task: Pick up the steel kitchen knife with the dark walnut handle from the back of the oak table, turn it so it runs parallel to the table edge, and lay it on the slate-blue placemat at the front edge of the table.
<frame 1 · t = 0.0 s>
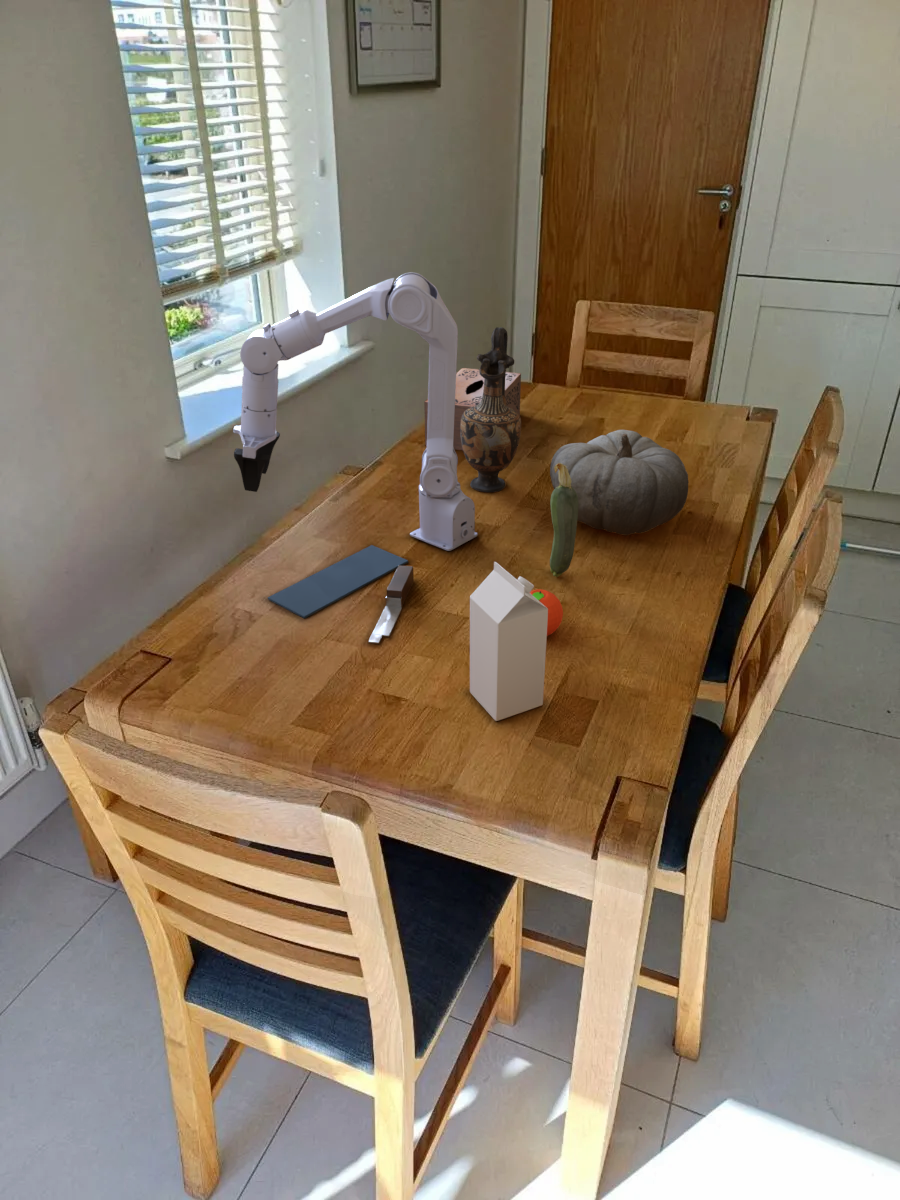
hand: (255, 481, 151), 11 cm above the table, tool pointing down, fingers open, 7 cm apart
gourd: (615, 518, 162), on the table
vase: (490, 485, 175), on the table
vegetable: (559, 579, 143), on the table
tissue box cover: (474, 430, 201), on the table
clementine: (536, 636, 129), on the table
mat: (340, 580, 143), on the table
milk carton: (505, 700, 116), on the table
knife: (399, 596, 138), on the table
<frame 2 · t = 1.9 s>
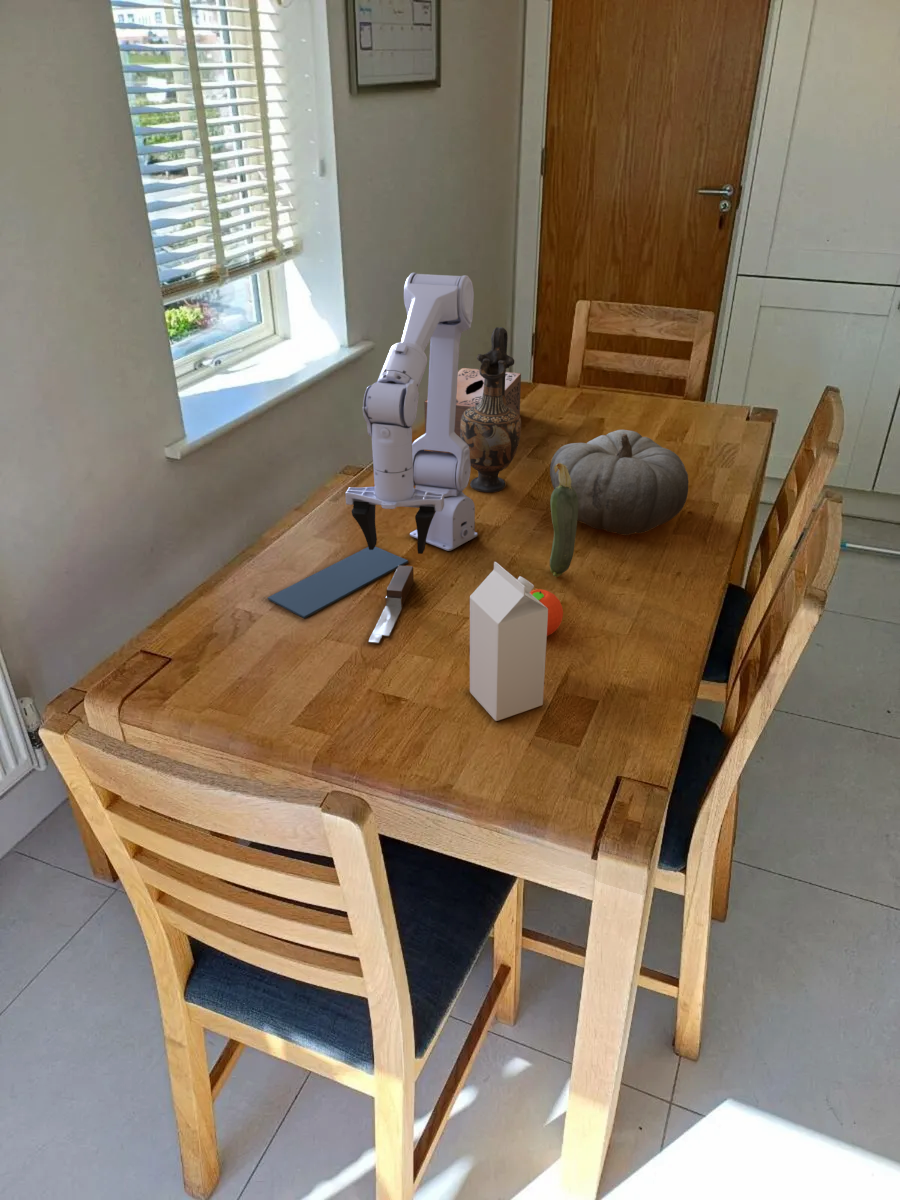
hand: (396, 548, 134), 8 cm above the table, tool pointing down, fingers open, 7 cm apart
nothing on the table moved.
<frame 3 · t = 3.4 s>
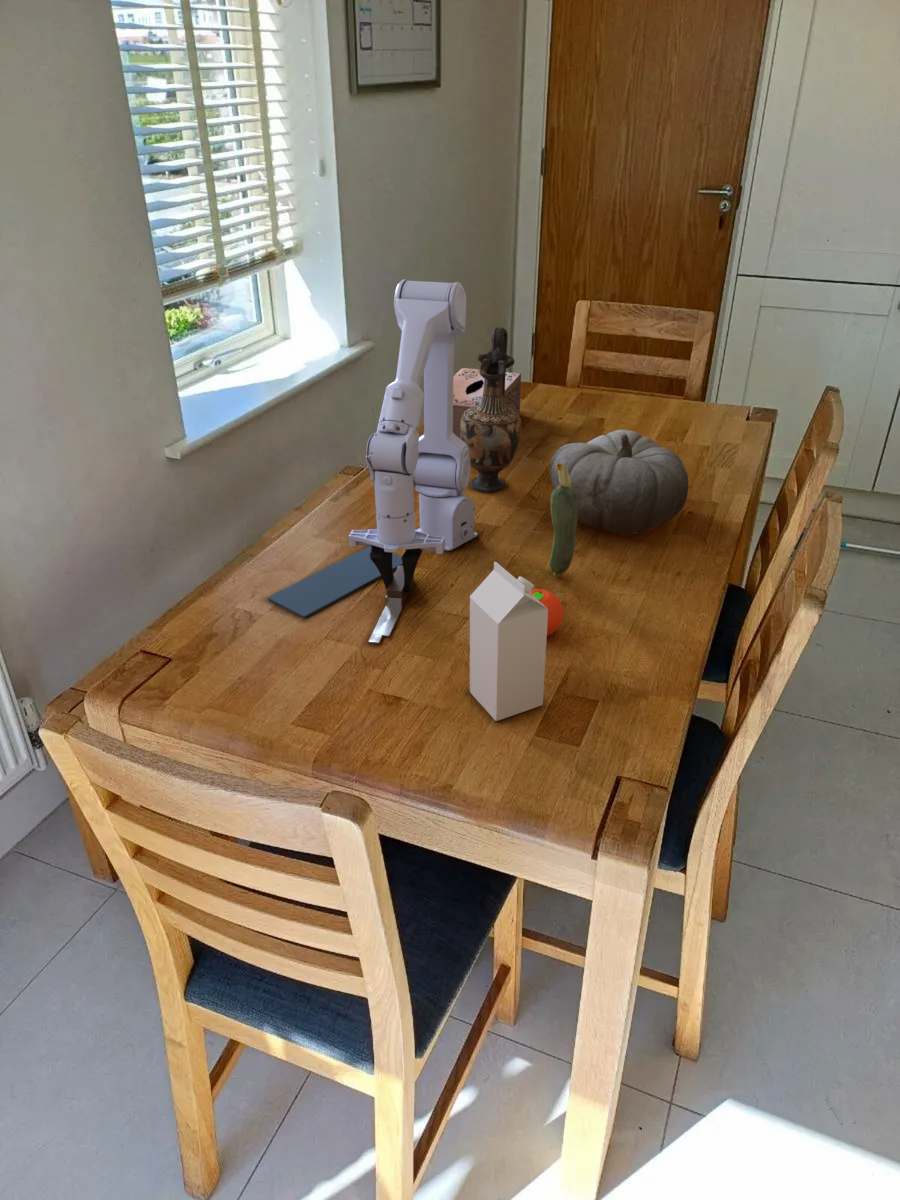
hand: (398, 588, 137), 1 cm above the table, tool pointing down, fingers closed on knife, 2 cm apart
knife: (399, 596, 138), on the table, touching gripper
everything else where it was.
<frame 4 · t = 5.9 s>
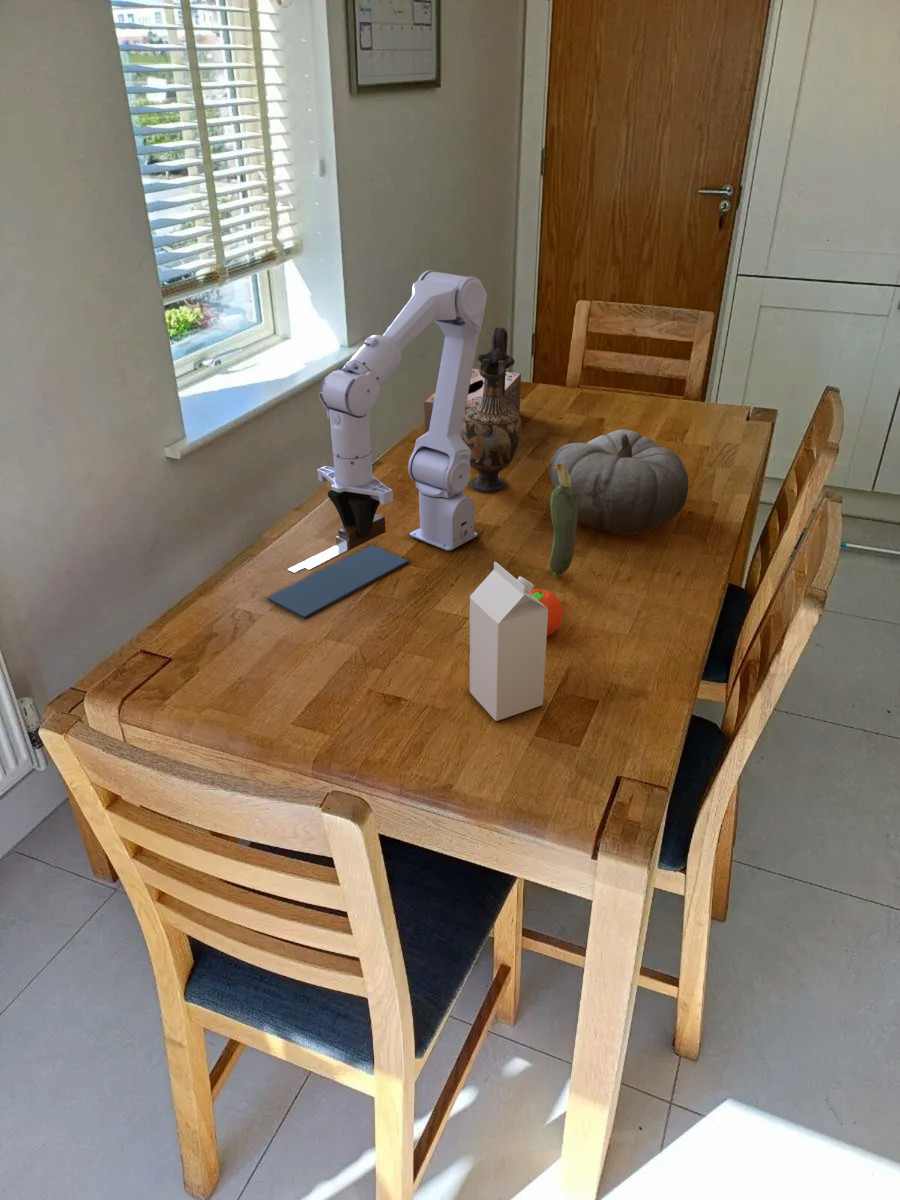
hand: (357, 532, 139), 8 cm above the table, tool pointing down, fingers closed on knife, 2 cm apart
knife: (358, 541, 139), point 7 cm above the table, touching gripper
everything else where it was.
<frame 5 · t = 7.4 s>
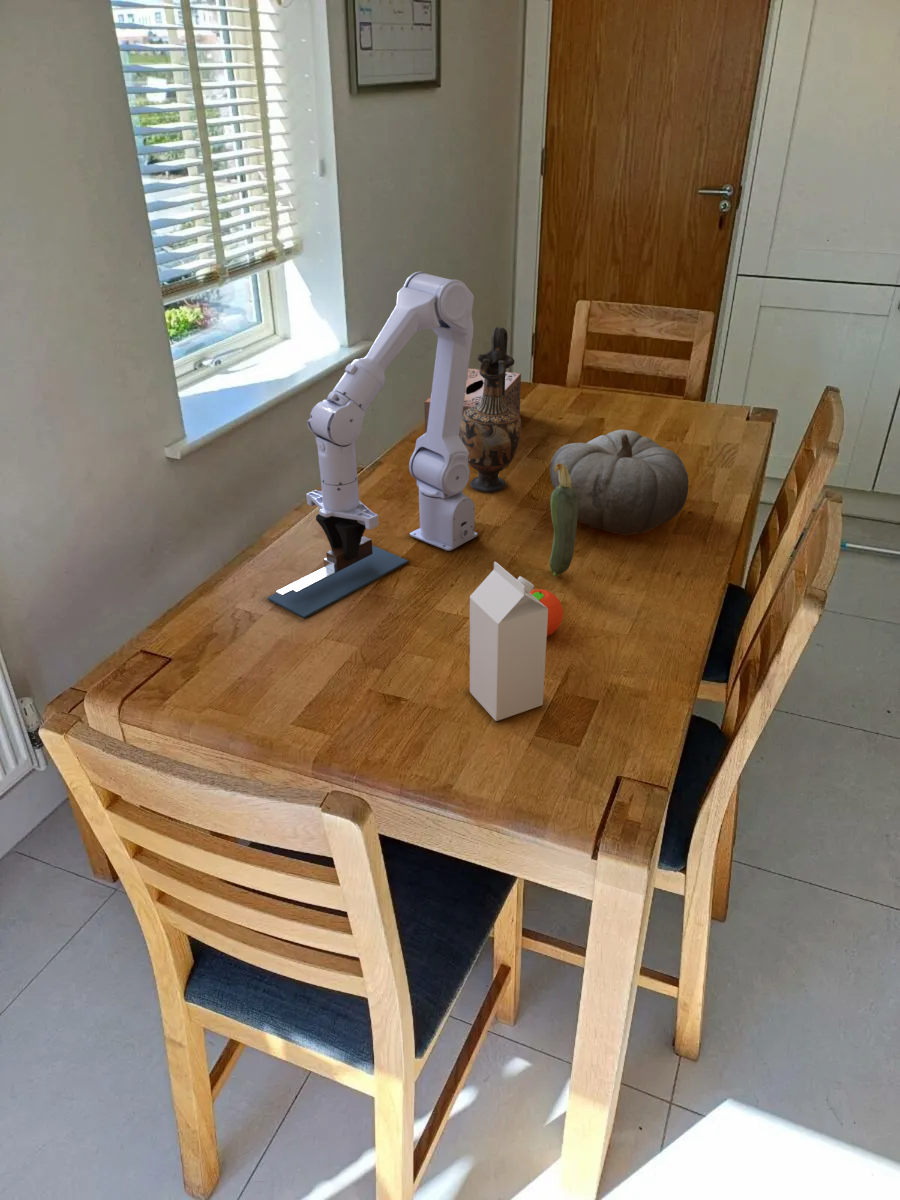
hand: (345, 555, 143), 3 cm above the table, tool pointing down, fingers closed on knife, 2 cm apart
knife: (345, 562, 144), point 2 cm above the table, touching gripper
everything else where it was.
when the fingers open (2 cm above the table, at t = 8.1 s): knife stays where it is, resting on mat.
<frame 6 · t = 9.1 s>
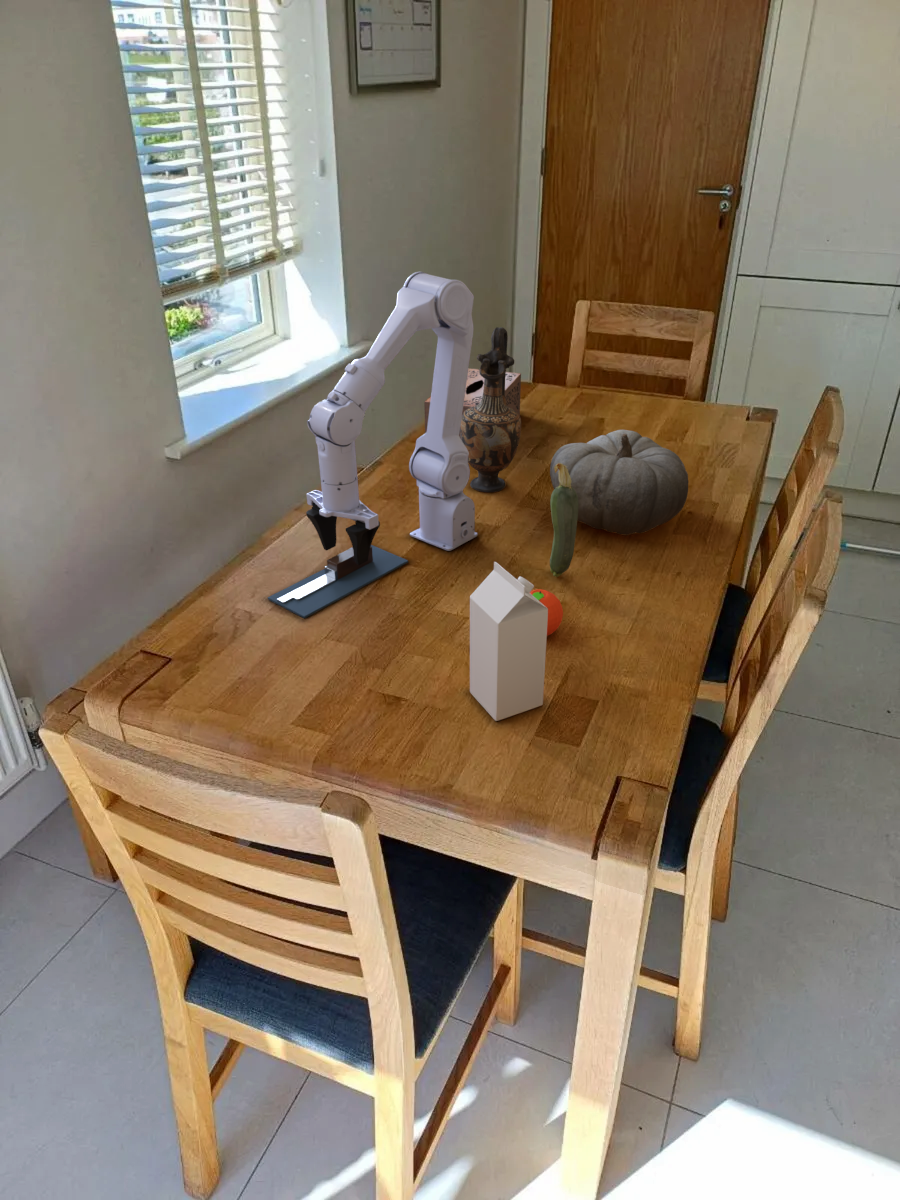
hand: (345, 554, 143), 3 cm above the table, tool pointing down, fingers open, 7 cm apart
knife: (346, 570, 145), resting on mat
everything else where it was.
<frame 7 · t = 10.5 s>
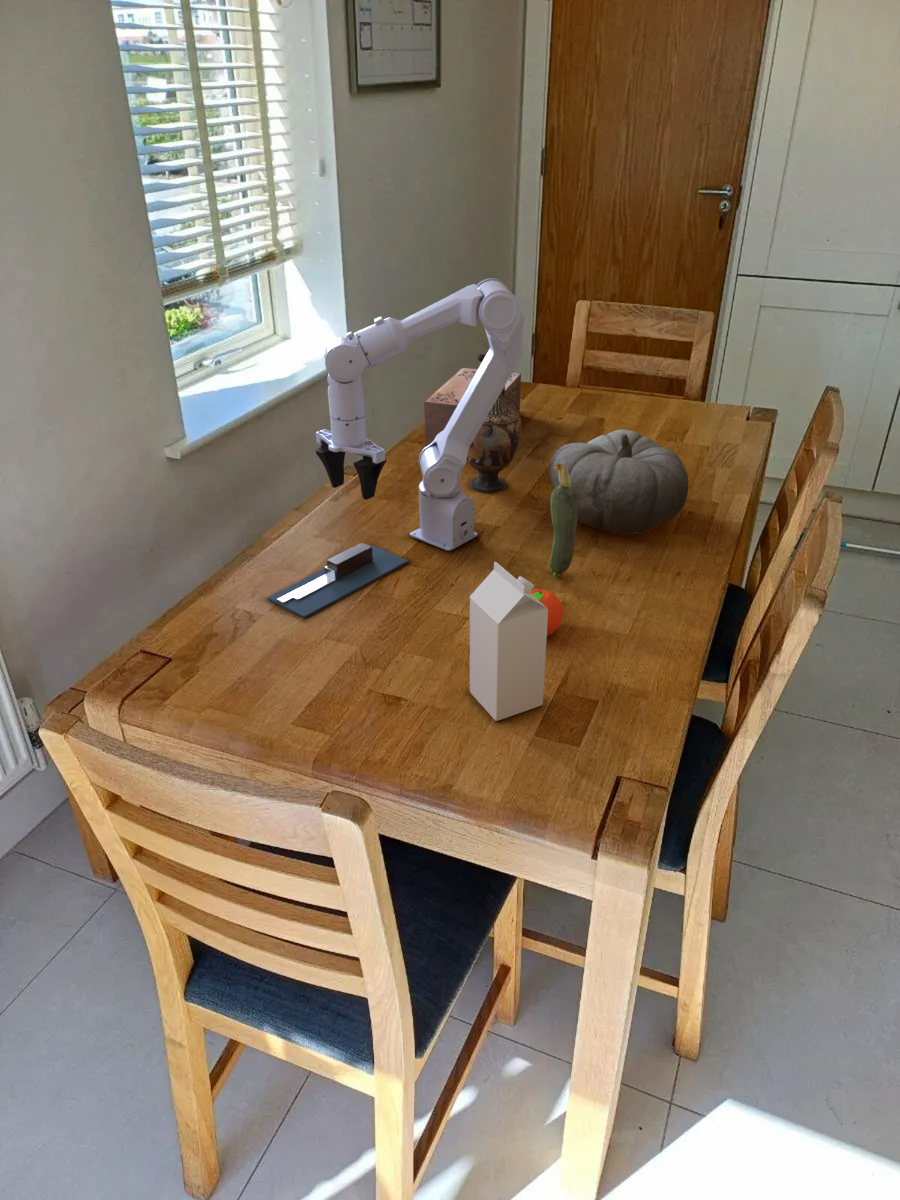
hand: (353, 491, 150), 9 cm above the table, tool pointing down, fingers open, 7 cm apart
nothing on the table moved.
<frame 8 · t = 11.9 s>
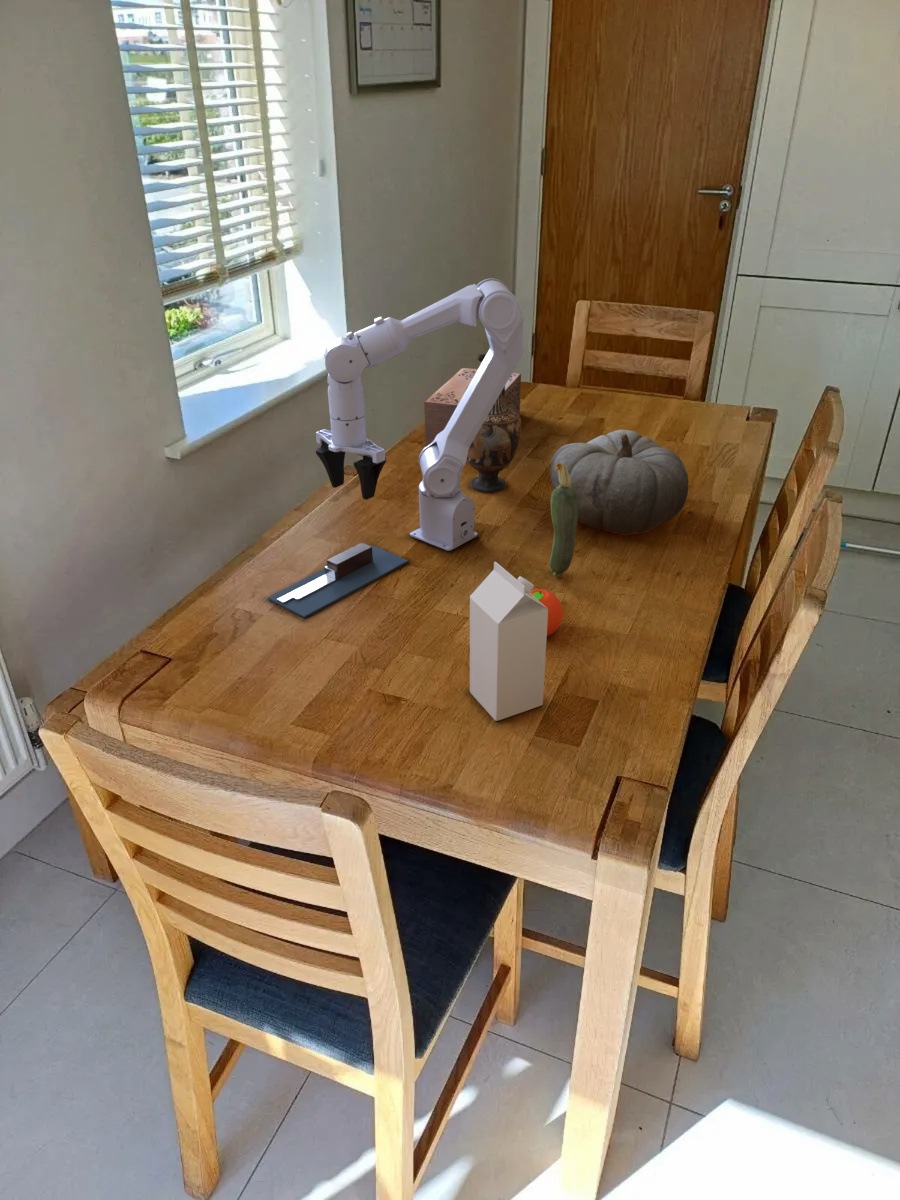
hand: (353, 491, 150), 9 cm above the table, tool pointing down, fingers open, 7 cm apart
nothing on the table moved.
at the end: knife inside the target area on the mat (0.6 cm from its centre), point 0.4 cm above the mat's base; knife touching mat; knife tilted 0° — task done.
